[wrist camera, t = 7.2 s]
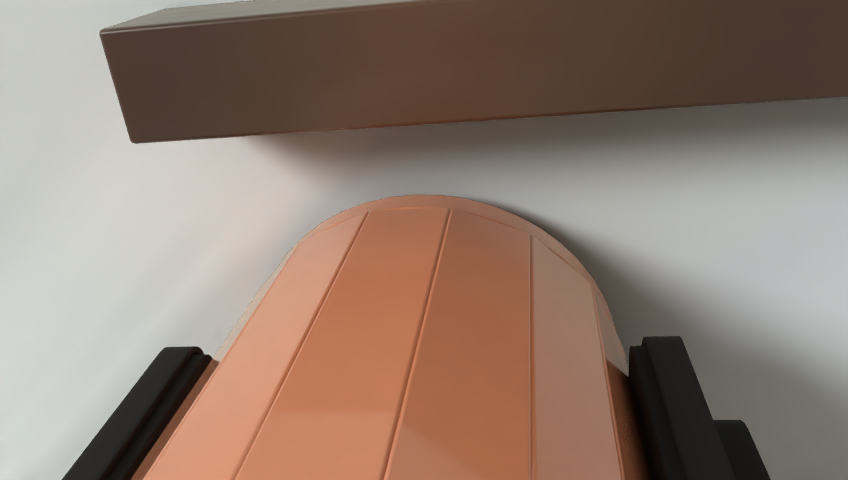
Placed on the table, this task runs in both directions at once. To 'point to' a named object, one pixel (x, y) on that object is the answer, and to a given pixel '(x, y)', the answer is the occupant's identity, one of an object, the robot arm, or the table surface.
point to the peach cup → (414, 360)
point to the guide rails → (461, 61)
